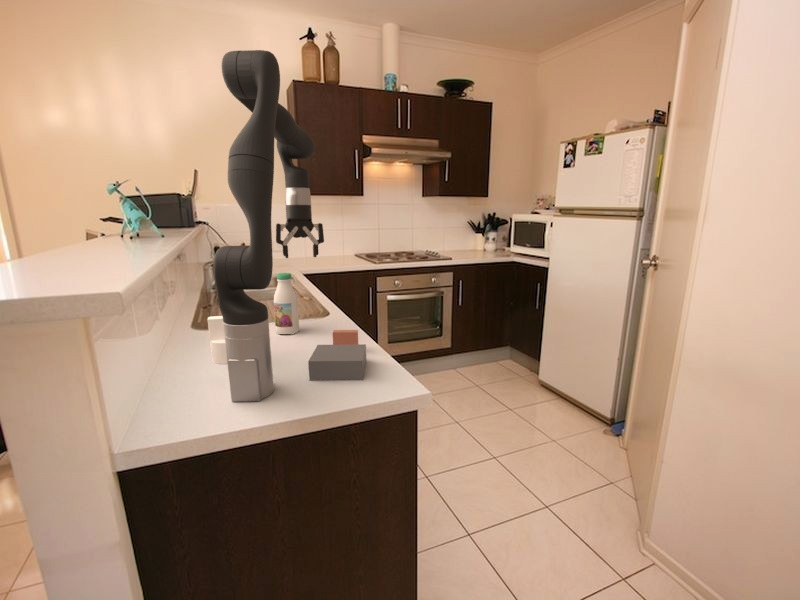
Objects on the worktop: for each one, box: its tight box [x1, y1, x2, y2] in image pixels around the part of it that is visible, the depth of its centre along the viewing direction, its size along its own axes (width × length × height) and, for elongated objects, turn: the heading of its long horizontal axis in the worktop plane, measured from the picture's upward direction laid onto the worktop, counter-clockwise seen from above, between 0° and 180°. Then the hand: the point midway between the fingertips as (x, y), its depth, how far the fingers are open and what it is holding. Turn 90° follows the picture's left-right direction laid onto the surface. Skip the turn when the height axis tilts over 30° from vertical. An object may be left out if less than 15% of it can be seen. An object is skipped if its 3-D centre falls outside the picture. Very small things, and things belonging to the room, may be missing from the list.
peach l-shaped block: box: [332, 329, 359, 345], centre depth 109 cm, size 20×8×6 cm, turn 1°
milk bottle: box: [273, 272, 300, 335], centre depth 135 cm, size 8×8×20 cm
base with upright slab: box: [207, 315, 228, 365], centre depth 112 cm, size 9×9×12 cm
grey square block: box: [307, 343, 367, 381], centre depth 105 cm, size 13×13×5 cm
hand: (301, 257), depth 126 cm, fingers open, 8 cm apart
